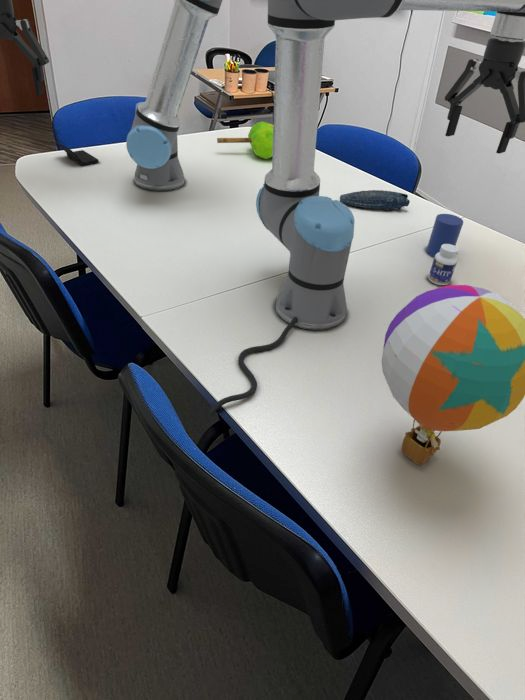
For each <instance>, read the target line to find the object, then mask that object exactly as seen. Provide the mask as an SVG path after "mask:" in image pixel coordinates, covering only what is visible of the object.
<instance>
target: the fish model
mask: <svg viewBox="0 0 525 700" xmlns="http://www.w3.org/2000/svg"><path fill="white" fill-rule="evenodd" d="M339 202H341V203H343V204H345V205H346V206H348V205H349V206H351V207H357V208H362V209H371V210H372V209H374V210H384V211H385V210H386V211H391V210H394V209H397V210H402V208H404V207H408V206H409V205H410V202H411V201H410V200H409V195H408V194H406V193H403V192H402V193H401V192H399V191H392V190H382V189H380V190H379V189H377V190H376V189H368V190H360V191H352V192H348V193H344V194H341V195H340V196H339Z"/></svg>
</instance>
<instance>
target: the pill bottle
mask: <svg viewBox="0 0 525 700" xmlns="http://www.w3.org/2000/svg"><path fill="white" fill-rule="evenodd" d="M458 252H459V248H458V247H457V245H456V246H454V245H451V244H443V245H442V246H441V248H440V252H438V253H437V254H436V255H435V257H433V261H432V264H431V266H430V270H429V273H428V276H427V278H428V280H429V282H431V283H433V284H435V285H438V286H448V285H450V283H451V280H452V278H453V275H454V272H455V269H456V266H457V264H458V258H457V257H458V256H457V255H458Z"/></svg>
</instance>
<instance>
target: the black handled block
mask: <svg viewBox="0 0 525 700" xmlns="http://www.w3.org/2000/svg"><path fill="white" fill-rule="evenodd" d="M54 141H55V143H56V145H58V146H59V147H60V148H61V149H62V150H63V151H64V152H65V153H66V156H67V157H68V158H70V159H71V160H74V162H76V163H78V164H79V165H81V166H87V165H92V164H97V163H99V161H100V160H99V159H98V158H96V156H93V155H92V154H90V153H88V151H85V150H84V149H81V150H75V151H73V150H72V149H70V148H69V147H67V146H66V145H64V144H62V143H61V142H59V141H58V140H54Z"/></svg>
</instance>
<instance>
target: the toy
mask: <svg viewBox="0 0 525 700" xmlns="http://www.w3.org/2000/svg"><path fill="white" fill-rule="evenodd" d="M381 369H382V370H381V371H382V373H383V376H384V379H385V381H386V384H387V386H388V388H389V391H390V392H391V395H392V397H393V398H394V400H395V401H396V403H398V404H399V405H400V407H401V408H402V409H403V410H404V411H405V412H406V413H407V414H408V415H409V416H410V417H411V418H412V419H413V421H412V422H413V423H412V428H411V429H410V431H406V432H405V434H404V435H405V436H404V438H403V441H402V445H401V453H402V454H403V455H404V456H406V457H407V458H408V459H410V461H412V462H413V463H415V464H416V465H417V466H419V467H420V466H422V465H424V464H425V463H426V462H427V461H428V460H430V459H431V458H432V457H434V456H435V454H436V453H437V451H440V449H441V447H440V446H441V443H442V440H441V439H440V438H439V436H441V434H442V432H461V431H462V432H463V431H473V430H480V429H483V428H484V427H486V426H488V425H491V424H493V423H496V422H498V421H499V420H501V419H503V418H507V416H509V415H510V414H511V413H513V412H514V411H515V410H516V409H518V407H519V405H520V404H521V403H522V401H523V400H524V398H525V317H524V316H523V315H522V314H521V313H520V311H518V309H517V308H516V307H515V305H513V304H512V302H510V301H509V300H507V299H506V298H504V297H503V296H501V295H499V294H497V293H496V292H493V291H490V290H488V289H485V288H482V287H479V286H473V285H467V284H447V285H443V286H440V287H436V288H433V289H430V290H426V291H424V292H423V293H420V294H419V295H417V296H415V297H414V298H413V299H412V300H410V301H409V302H408V303H407V304H406V305H405V306H404V307H403V308H402V309H400V310H399V311H398V312H397V313H396V314H395V316H394V317H393V318H392V320H391V322H390V323H389V324H388V327H387V329H386V332H385V335H384V342H383V350H382V355H381ZM415 423H417V424H418V425H417V426H416V427H415ZM435 431H436V432H439V433H438V434H437V435H436V433H435Z"/></svg>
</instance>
